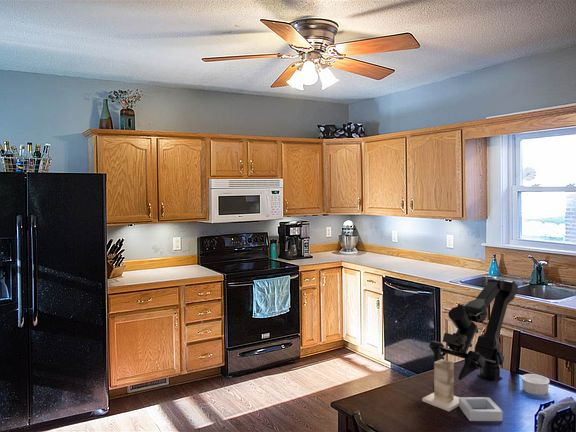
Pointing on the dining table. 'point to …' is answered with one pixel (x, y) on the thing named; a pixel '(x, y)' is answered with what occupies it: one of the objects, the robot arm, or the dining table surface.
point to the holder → (480, 414)
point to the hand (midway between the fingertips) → (446, 375)
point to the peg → (444, 380)
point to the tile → (440, 404)
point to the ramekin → (535, 384)
